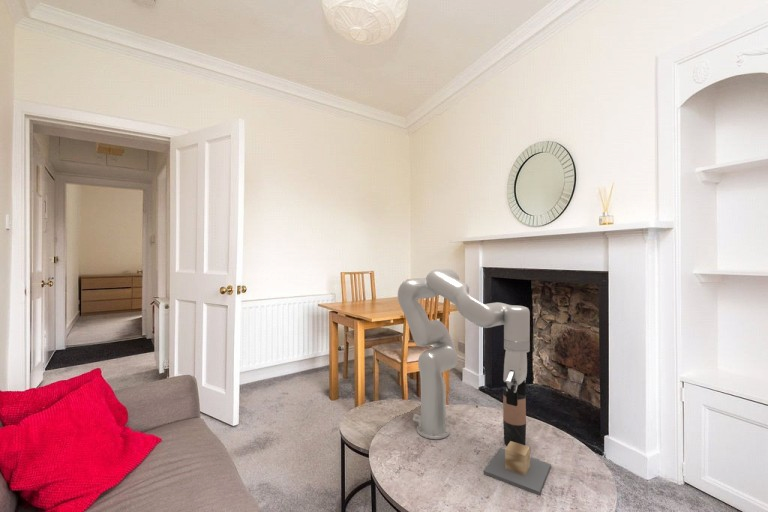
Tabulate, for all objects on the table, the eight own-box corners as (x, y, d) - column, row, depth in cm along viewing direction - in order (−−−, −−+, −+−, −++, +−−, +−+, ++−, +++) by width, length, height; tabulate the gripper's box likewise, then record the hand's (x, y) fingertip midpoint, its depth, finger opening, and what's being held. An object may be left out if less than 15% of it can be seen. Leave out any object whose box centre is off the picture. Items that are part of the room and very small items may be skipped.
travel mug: (528, 451, 115) (527, 393, 116) (505, 449, 117) (504, 391, 117) (523, 440, 123) (523, 385, 123) (501, 438, 124) (501, 383, 125)
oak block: (505, 468, 104) (504, 449, 104) (510, 459, 109) (510, 440, 109) (525, 475, 101) (525, 455, 101) (530, 466, 106) (529, 446, 106)
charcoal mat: (483, 474, 103) (483, 470, 103) (500, 450, 116) (500, 447, 116) (539, 495, 94) (539, 491, 94) (550, 467, 107) (550, 464, 107)
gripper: (512, 338, 115) (511, 388, 115) (495, 348, 101) (495, 405, 101) (535, 341, 110) (535, 393, 110) (521, 353, 97) (521, 412, 96)
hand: (516, 399), depth 106 cm, fingers open, 9 cm apart
